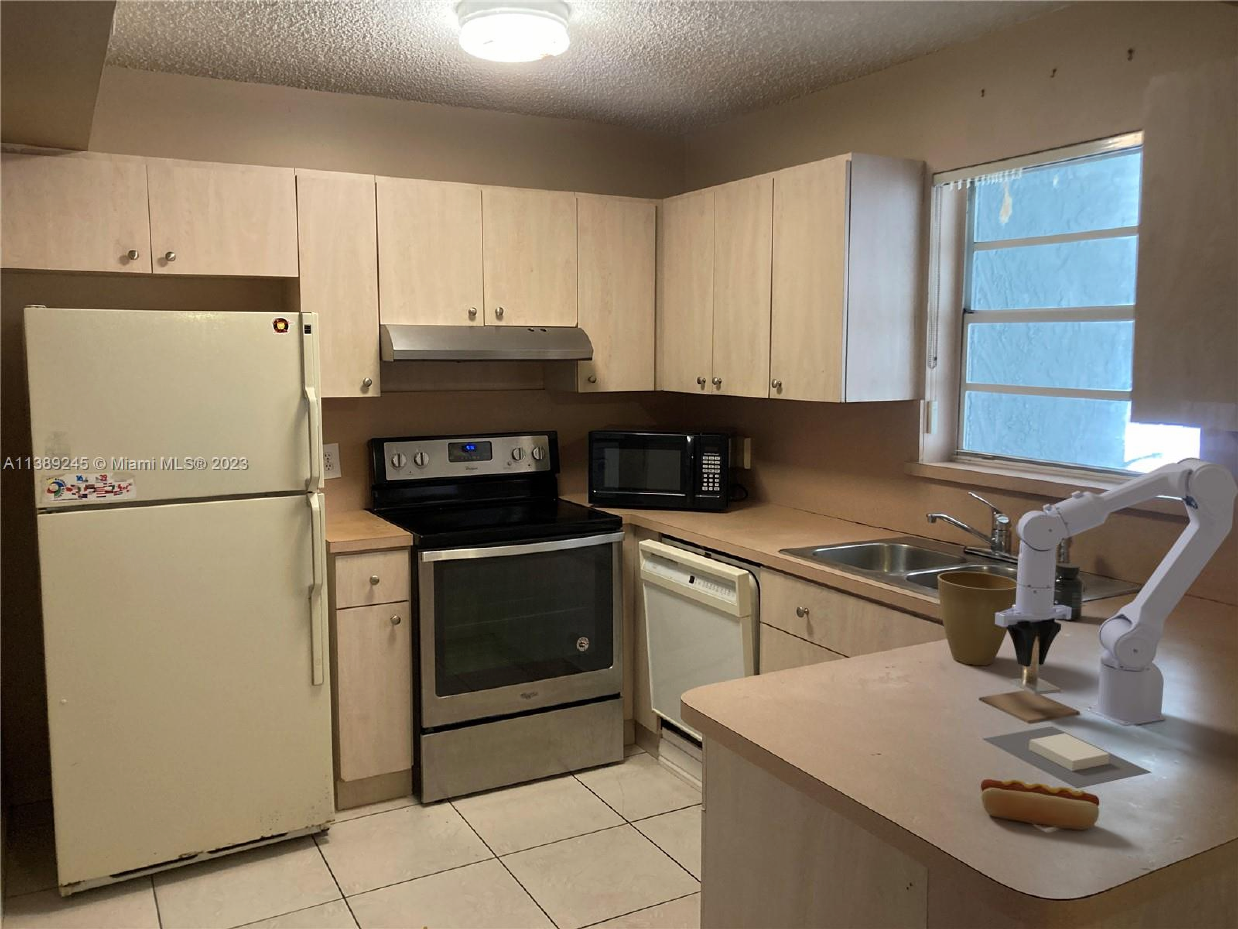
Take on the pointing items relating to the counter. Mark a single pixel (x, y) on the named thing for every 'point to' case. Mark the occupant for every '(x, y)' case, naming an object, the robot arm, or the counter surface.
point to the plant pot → (974, 613)
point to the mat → (1078, 778)
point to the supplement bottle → (1068, 589)
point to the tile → (1069, 752)
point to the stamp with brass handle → (1034, 675)
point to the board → (1028, 706)
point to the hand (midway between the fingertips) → (1030, 664)
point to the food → (1040, 804)
